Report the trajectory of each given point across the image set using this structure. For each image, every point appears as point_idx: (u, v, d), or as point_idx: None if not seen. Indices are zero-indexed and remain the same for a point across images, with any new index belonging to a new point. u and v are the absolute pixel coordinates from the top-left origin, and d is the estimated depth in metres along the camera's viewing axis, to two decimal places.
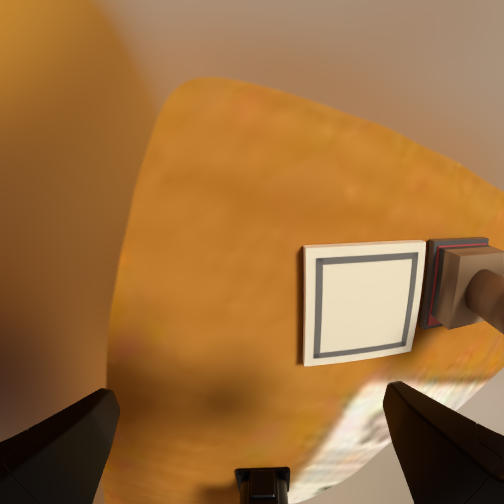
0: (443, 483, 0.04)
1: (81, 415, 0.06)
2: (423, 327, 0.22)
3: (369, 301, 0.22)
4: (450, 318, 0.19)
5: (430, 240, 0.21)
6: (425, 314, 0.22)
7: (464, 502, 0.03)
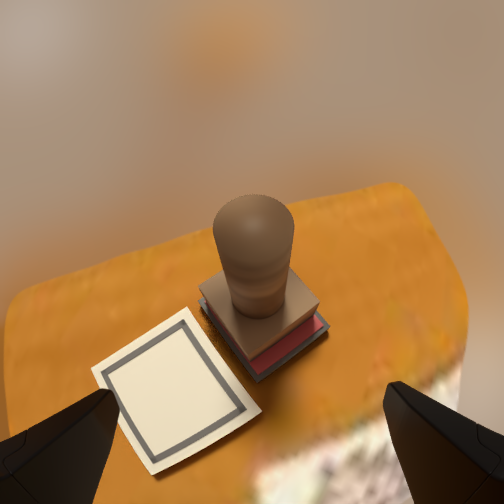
0: (443, 483, 0.04)
1: (81, 415, 0.06)
2: (256, 380, 0.20)
3: (165, 386, 0.20)
4: (239, 343, 0.18)
5: (200, 304, 0.24)
6: (244, 366, 0.21)
7: (464, 502, 0.03)
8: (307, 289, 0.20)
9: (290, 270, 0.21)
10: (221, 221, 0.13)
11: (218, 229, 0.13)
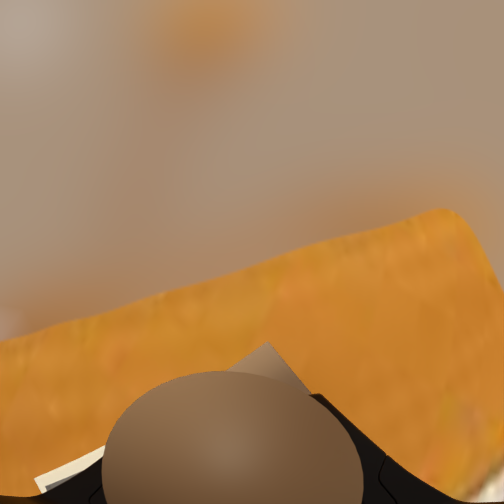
0: None
1: None
2: None
3: None
4: None
5: None
6: None
7: None
8: None
9: None
10: (123, 467, 0.03)
11: (117, 490, 0.03)
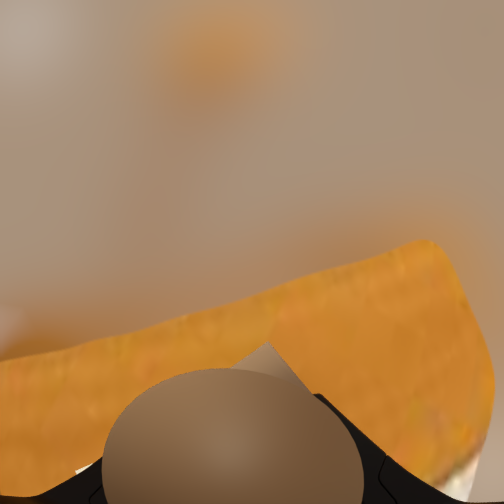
0: None
1: None
2: None
3: None
4: None
5: None
6: None
7: None
8: None
9: None
10: (123, 465, 0.03)
11: (117, 488, 0.03)
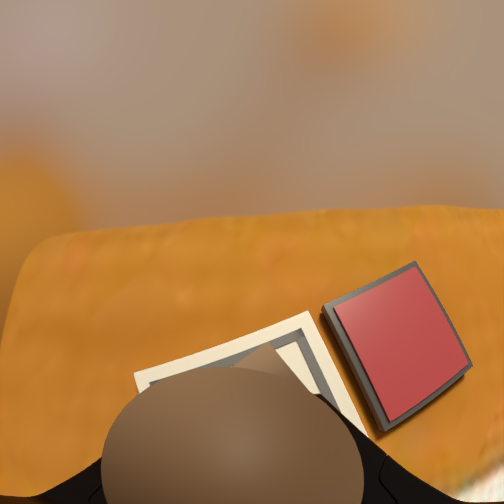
0: None
1: None
2: (384, 428, 0.12)
3: None
4: None
5: (322, 309, 0.16)
6: (374, 408, 0.13)
7: None
8: None
9: None
10: (122, 463, 0.03)
11: (116, 487, 0.03)
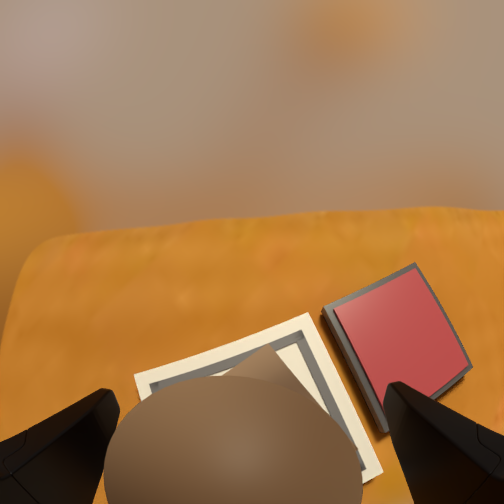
0: (443, 483, 0.04)
1: (81, 415, 0.06)
2: (384, 429, 0.12)
3: None
4: None
5: (322, 311, 0.16)
6: (374, 410, 0.13)
7: (464, 502, 0.03)
8: None
9: (310, 398, 0.10)
10: (125, 470, 0.03)
11: (119, 493, 0.03)
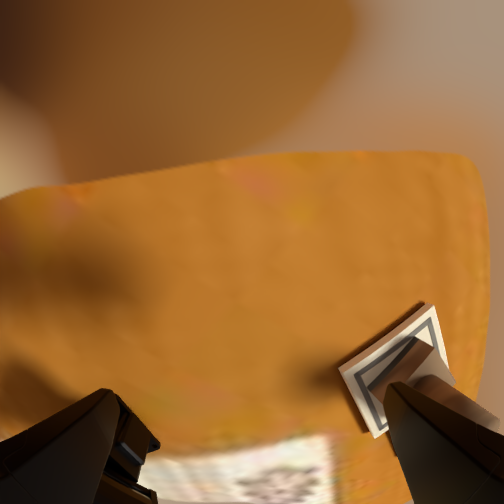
0: (444, 483, 0.04)
1: (81, 415, 0.06)
2: None
3: None
4: None
5: None
6: None
7: (464, 502, 0.03)
8: None
9: None
10: (490, 424, 0.11)
11: (487, 426, 0.11)
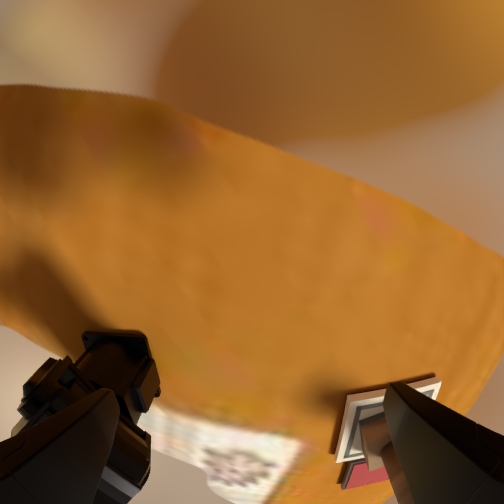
0: (443, 482, 0.04)
1: (81, 415, 0.06)
2: (352, 462, 0.25)
3: None
4: (376, 438, 0.20)
5: None
6: (363, 460, 0.25)
7: (464, 502, 0.03)
8: (380, 467, 0.21)
9: None
10: None
11: None
